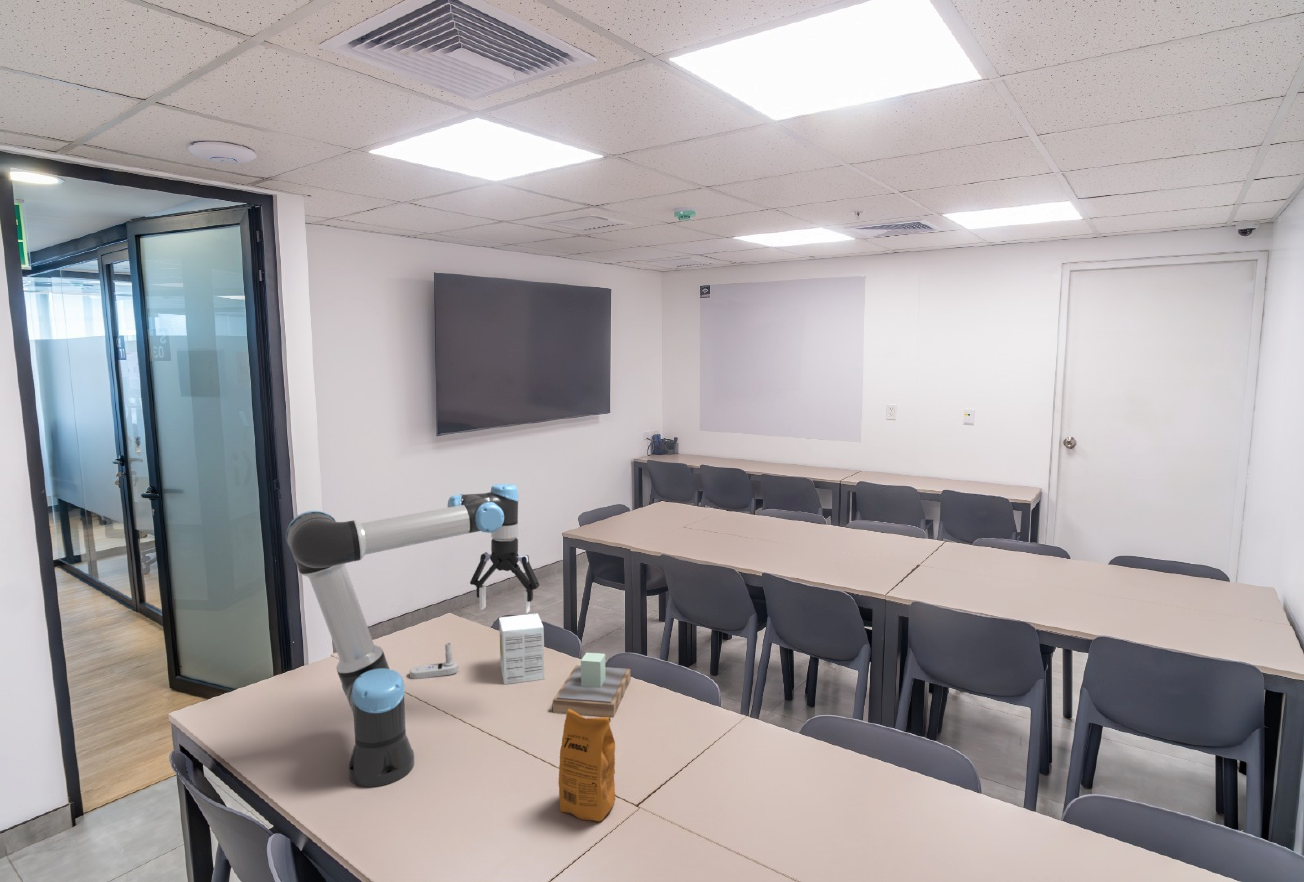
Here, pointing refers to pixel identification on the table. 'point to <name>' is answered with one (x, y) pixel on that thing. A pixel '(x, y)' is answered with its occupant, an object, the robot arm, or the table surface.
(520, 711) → the table surface
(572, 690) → the base
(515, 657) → the supplement box
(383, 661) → the robot arm
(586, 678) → the sage block
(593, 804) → the coffee package
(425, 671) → the electronic device
